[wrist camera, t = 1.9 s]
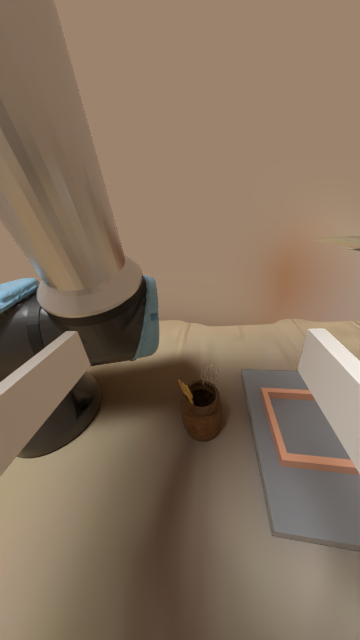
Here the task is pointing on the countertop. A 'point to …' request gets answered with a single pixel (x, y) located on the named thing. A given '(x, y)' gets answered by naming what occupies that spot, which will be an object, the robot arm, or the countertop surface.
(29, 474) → the countertop surface
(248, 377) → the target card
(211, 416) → the utensil holder
